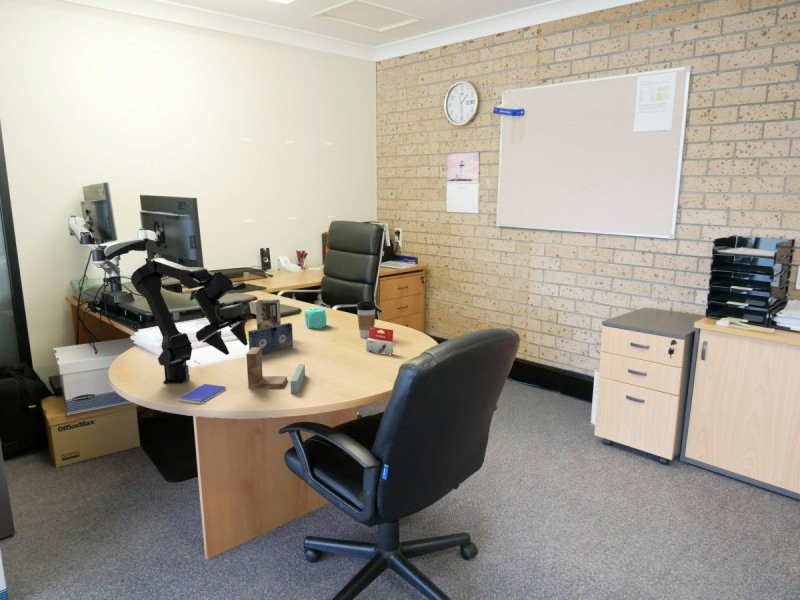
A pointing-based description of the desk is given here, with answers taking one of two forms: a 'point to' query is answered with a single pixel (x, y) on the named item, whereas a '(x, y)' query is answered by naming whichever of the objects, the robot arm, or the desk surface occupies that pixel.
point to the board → (297, 378)
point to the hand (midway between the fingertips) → (237, 349)
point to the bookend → (256, 373)
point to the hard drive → (202, 393)
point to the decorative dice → (315, 318)
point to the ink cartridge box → (380, 340)
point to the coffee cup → (365, 317)
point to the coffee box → (267, 313)
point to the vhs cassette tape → (272, 338)
